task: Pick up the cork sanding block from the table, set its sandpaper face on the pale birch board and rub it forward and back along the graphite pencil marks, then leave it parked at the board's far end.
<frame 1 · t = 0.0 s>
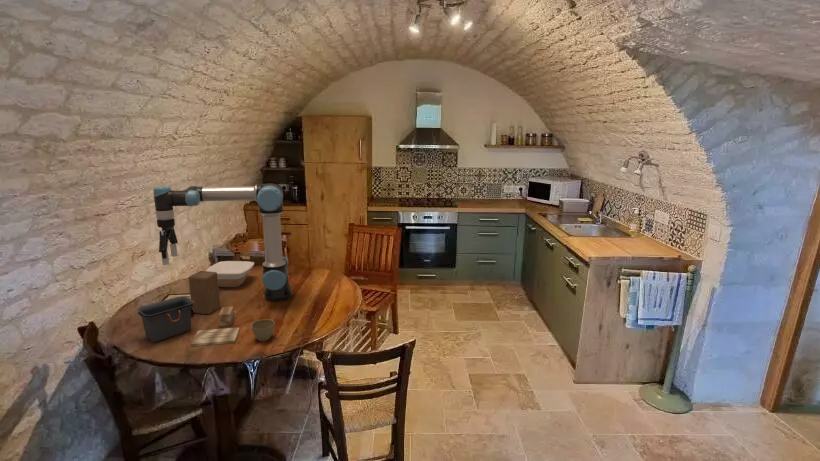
hand: (170, 260, 214), 28 cm above the table, fingers open, 13 cm apart
bowl: (231, 283, 262), on the table
sanding block: (227, 322, 211), on the table
board: (216, 337, 195), on the table
storage bin: (170, 334, 198), on the table
wooden block: (206, 310, 224), on the table
flower pot: (263, 338, 196), on the table
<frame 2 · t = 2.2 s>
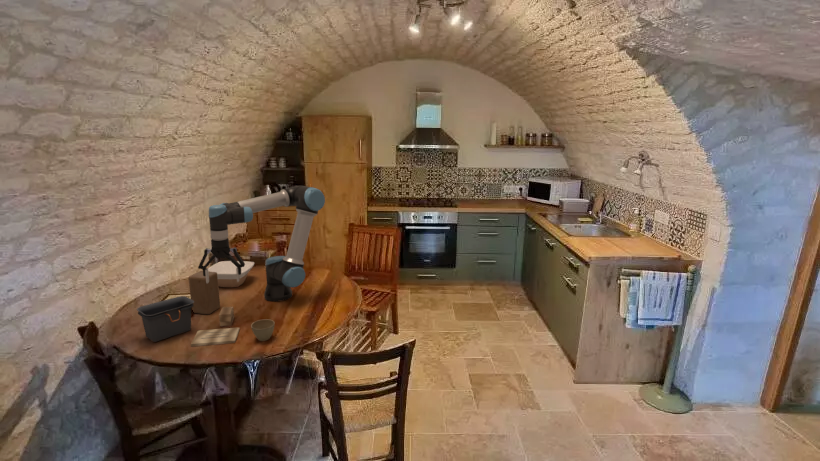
hand: (223, 281, 205), 21 cm above the table, fingers open, 13 cm apart
nothing on the table moved.
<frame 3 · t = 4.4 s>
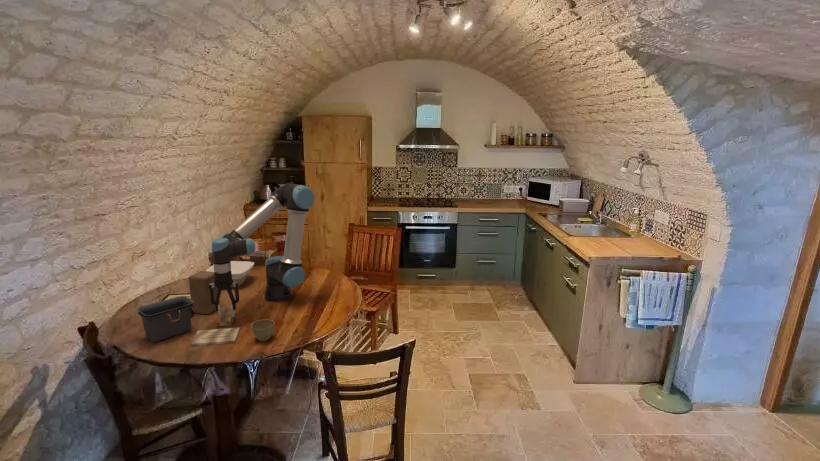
hand: (226, 316, 210), 3 cm above the table, fingers closed on sanding block, 5 cm apart
sanding block: (227, 322, 211), on the table, touching gripper
everything else where it was.
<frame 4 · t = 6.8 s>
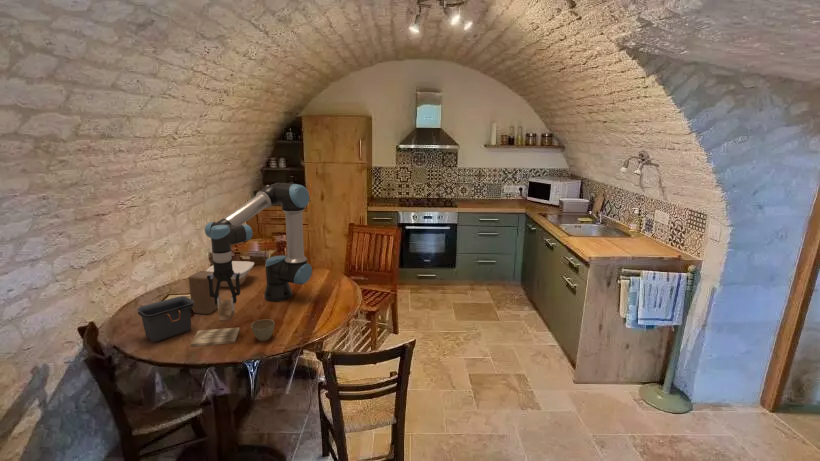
hand: (226, 310, 193), 13 cm above the table, fingers closed on sanding block, 5 cm apart
sanding block: (227, 317, 194), point 10 cm above the table, touching gripper
everything else where it was.
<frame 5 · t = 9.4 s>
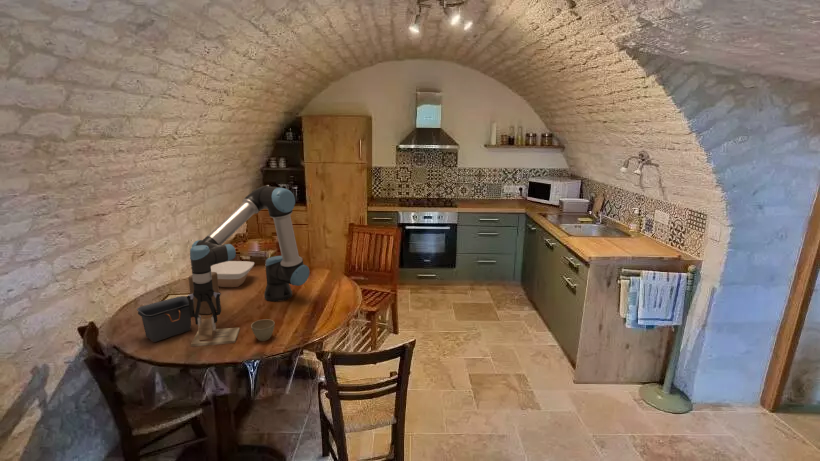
hand: (207, 329, 194), 4 cm above the table, fingers closed on sanding block, 5 cm apart
sanding block: (208, 336, 194), point 1 cm above the table, touching gripper
everything else where it was.
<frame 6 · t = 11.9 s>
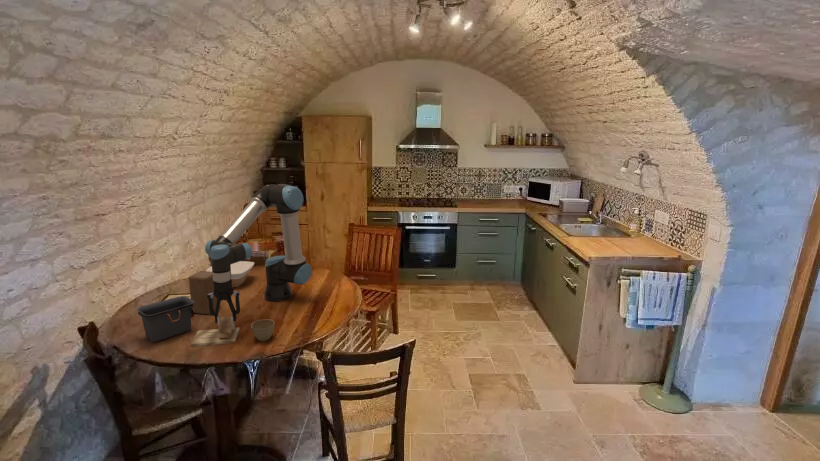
hand: (226, 328, 195), 4 cm above the table, fingers closed on sanding block, 5 cm apart
sanding block: (227, 334, 196), point 1 cm above the table, touching gripper
everything else where it was.
when the fingers open (5 cm above the table, at t = 14.3 s): sanding block stays where it is, resting on board.
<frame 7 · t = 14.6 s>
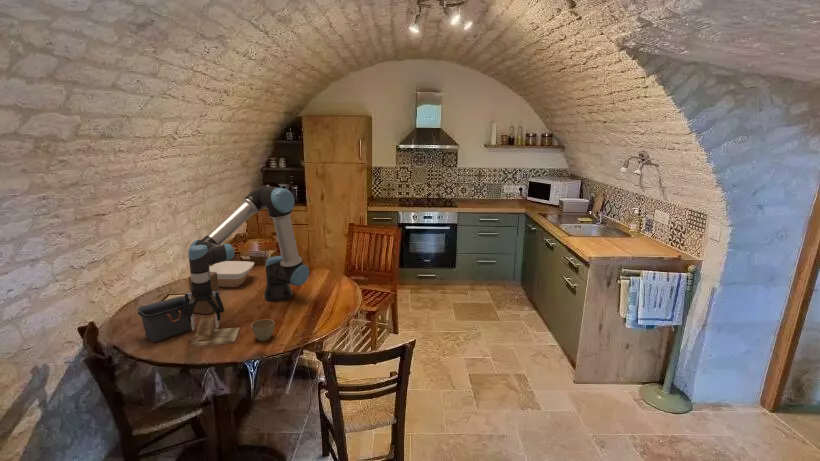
hand: (205, 327, 193), 5 cm above the table, fingers open, 9 cm apart
sanding block: (206, 336, 194), point 1 cm above the table, touching board
everything else where it was.
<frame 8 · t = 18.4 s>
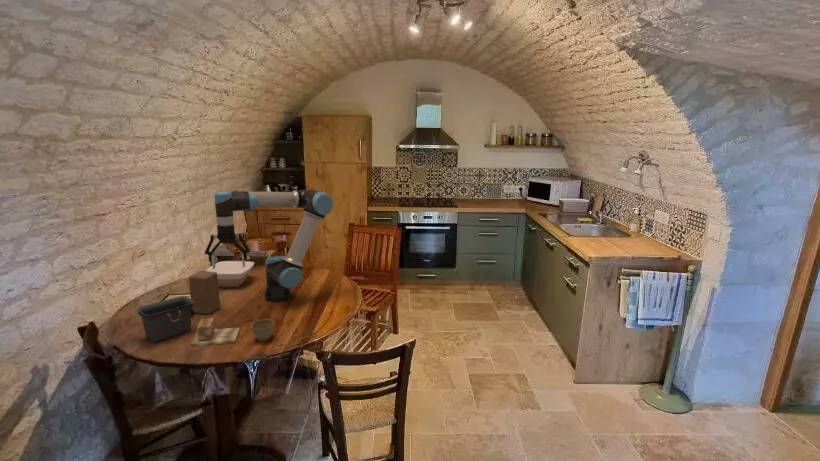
hand: (229, 267, 209), 27 cm above the table, fingers open, 13 cm apart
nothing on the table moved.
at the end: sanding block inside the target area on the board (0.1 cm from its centre), point 1.2 cm above the board's base; sanding block tilted 0°; the gripper is holding nothing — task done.
